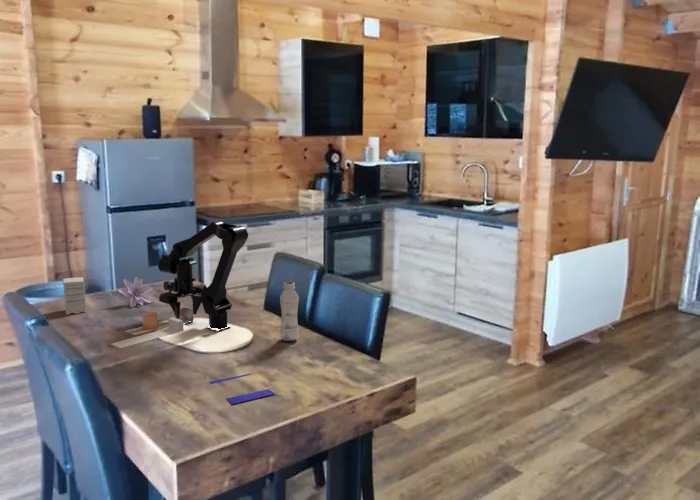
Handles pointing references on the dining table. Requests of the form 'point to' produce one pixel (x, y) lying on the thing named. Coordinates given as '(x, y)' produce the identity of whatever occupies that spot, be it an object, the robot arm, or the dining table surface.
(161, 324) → the birch strip
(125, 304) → the dining table surface
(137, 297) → the water lily
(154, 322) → the rounded peach dome
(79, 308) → the miniature chest of drawers
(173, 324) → the grey strip
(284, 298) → the plastic bottle
